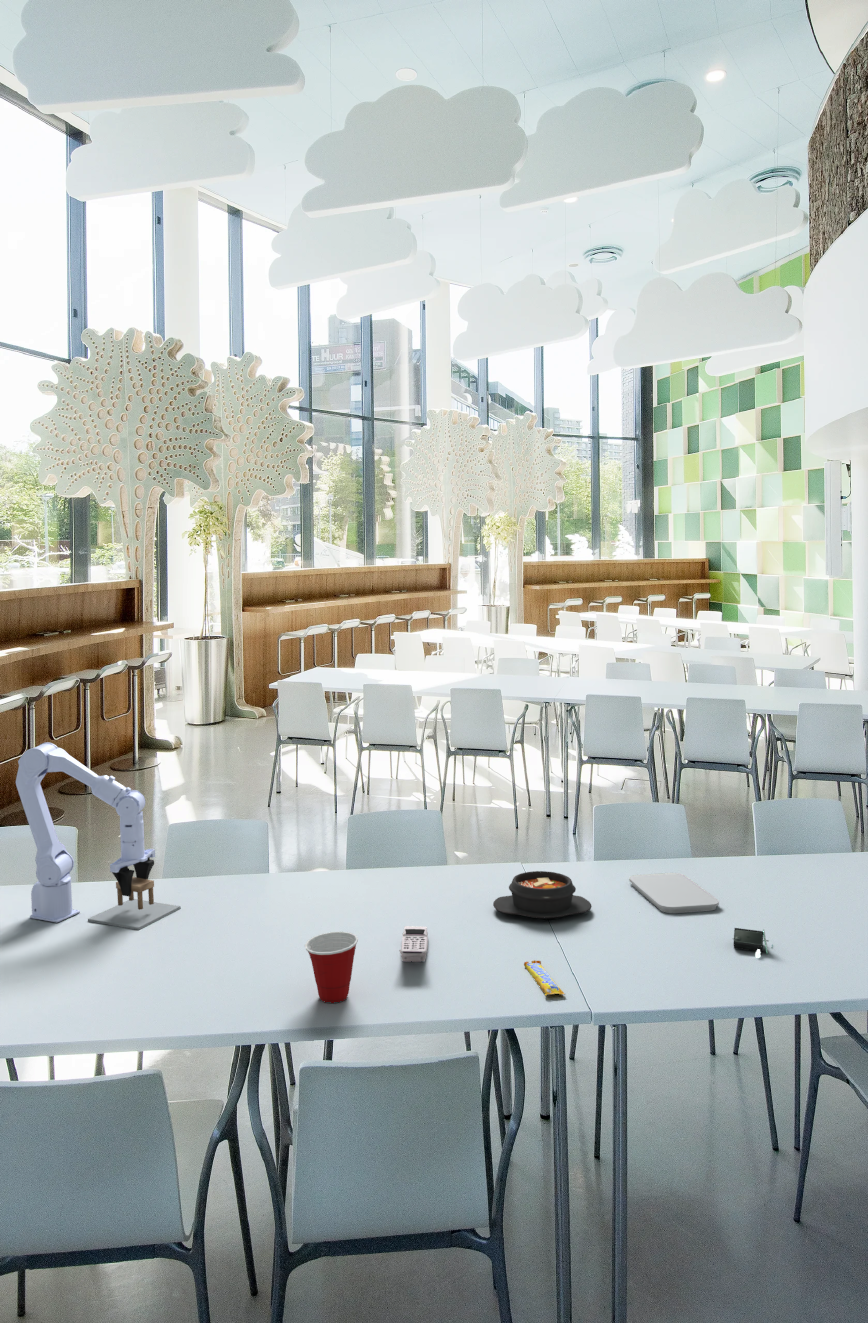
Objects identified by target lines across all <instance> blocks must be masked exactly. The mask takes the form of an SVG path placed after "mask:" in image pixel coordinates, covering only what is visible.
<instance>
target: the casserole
mask: <svg viewBox="0 0 868 1323" xmlns="http://www.w3.org/2000/svg"><path fill="white" fill-rule="evenodd" d="M508 890H509V891H510V893H511V895H506V896H505V895H504V896H500V897H497V898H496V899H495V900H494V901H493V904H492V905H493V908H494V909H495V910H496V911H498V912H500V913H501V914H505V915H506V914H507V915H516V916H524V917H528V918H532V919H539V920H541V919H543V920H546V919H548V920H549V919H557V918H562V917H566V916H570V915H571V916H572V915H577V914H583V913H587V912H589V911H590V910H591V909H592V907H593V906H592V904H591V902H590V901H589V900H588V899H586V898H585V897H583V896H581V895H574V894H575V892H576V890H577V889H576V886H575V885H574V884H573V880H572V879H571V878H570V877H569V876H568V875H565V874H563V873H562V874H561V873H558V872H554V871H553V872H552V871H545V870H543V871H542V870H540V871H539V870H536V871H527V872H522V873H519V874H516V875H515V876H513V878H512V881H511V883H510V884H509V885H508Z"/></svg>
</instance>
